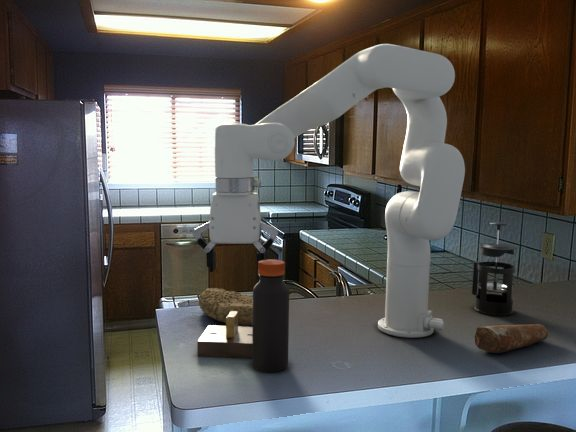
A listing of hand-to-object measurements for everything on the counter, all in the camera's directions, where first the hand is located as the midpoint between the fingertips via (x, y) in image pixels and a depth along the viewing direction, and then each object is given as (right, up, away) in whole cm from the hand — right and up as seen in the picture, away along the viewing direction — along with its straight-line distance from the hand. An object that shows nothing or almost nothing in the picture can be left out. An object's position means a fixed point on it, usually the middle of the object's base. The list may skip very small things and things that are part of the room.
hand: (236, 270), depth 113 cm
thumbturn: (-1, -13, +1) cm, 13 cm away
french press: (+63, -13, +31) cm, 72 cm away
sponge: (-3, -14, +19) cm, 24 cm away
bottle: (+7, -17, -8) cm, 20 cm away
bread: (+58, -17, +5) cm, 60 cm away
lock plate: (-1, -16, +1) cm, 16 cm away
